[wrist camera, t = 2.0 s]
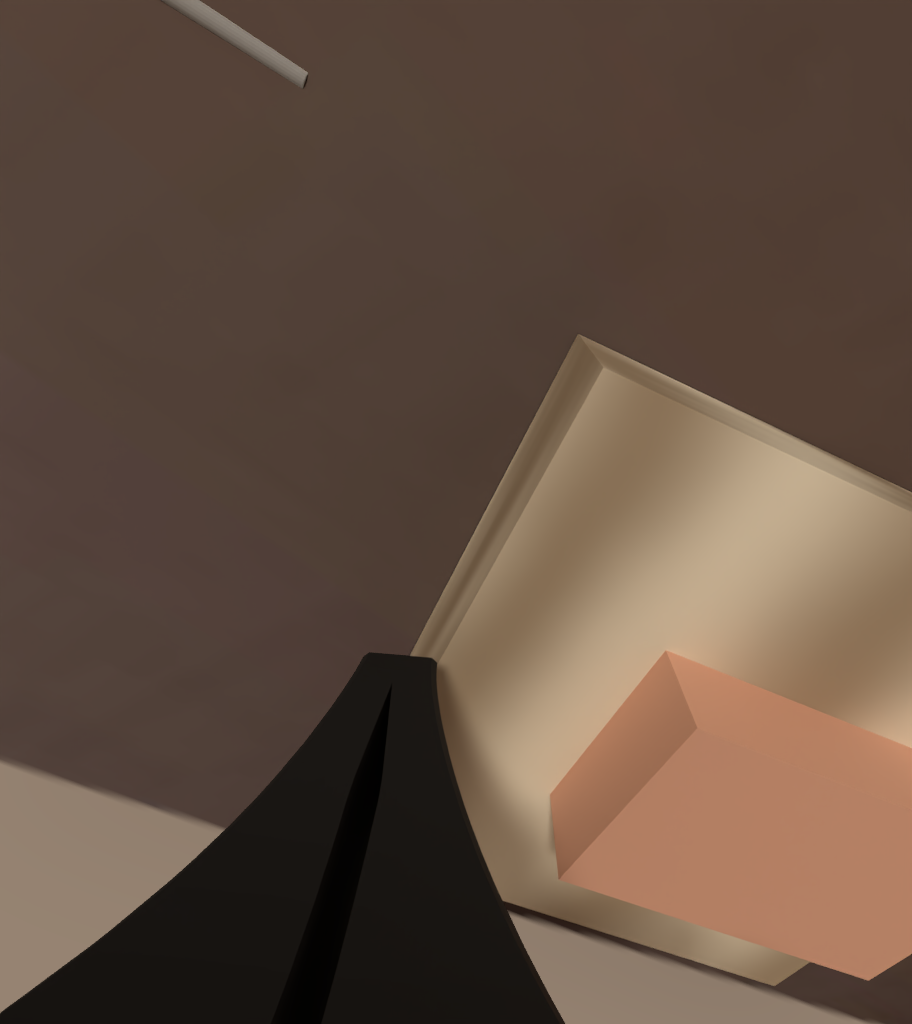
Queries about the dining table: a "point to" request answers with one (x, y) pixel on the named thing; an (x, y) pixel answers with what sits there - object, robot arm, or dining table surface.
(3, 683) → the dining table surface
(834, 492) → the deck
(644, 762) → the tile
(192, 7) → the sign
